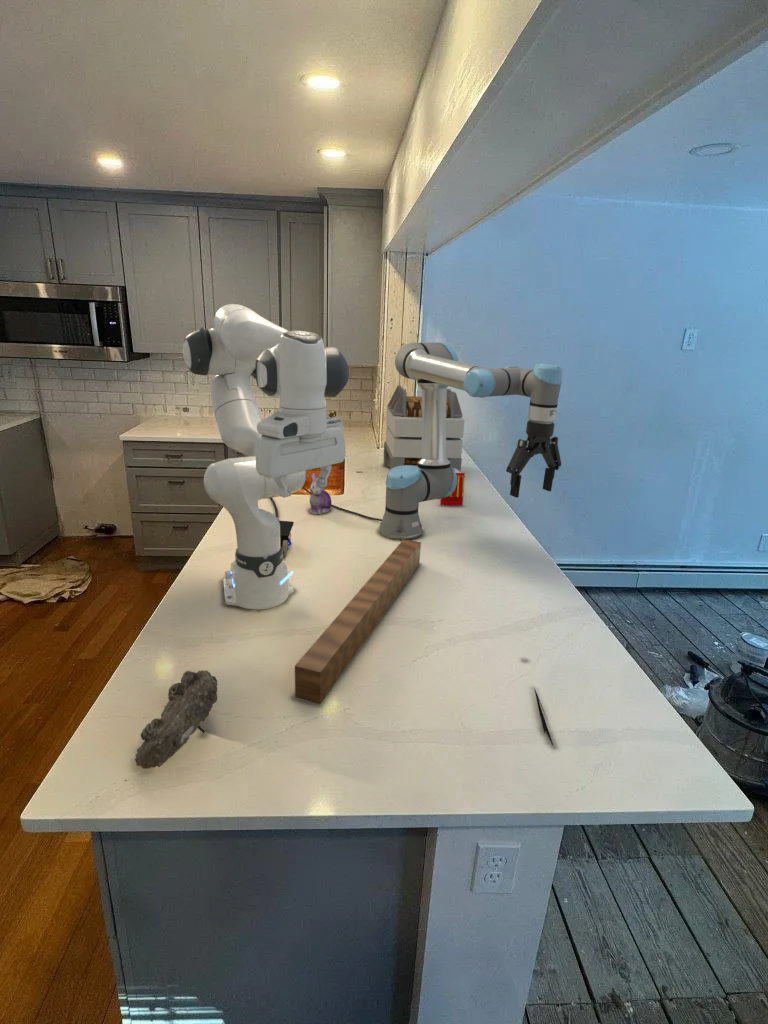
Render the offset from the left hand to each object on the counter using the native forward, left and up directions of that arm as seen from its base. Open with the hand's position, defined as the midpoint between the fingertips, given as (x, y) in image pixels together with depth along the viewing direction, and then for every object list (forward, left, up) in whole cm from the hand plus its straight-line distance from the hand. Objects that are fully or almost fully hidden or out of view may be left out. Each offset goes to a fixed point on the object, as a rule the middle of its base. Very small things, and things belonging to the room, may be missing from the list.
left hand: (303, 491), depth 112 cm
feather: (+32, +39, -40) cm, 64 cm away
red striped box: (-89, +99, -40) cm, 139 cm away
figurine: (-90, +41, -40) cm, 107 cm away
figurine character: (-62, +16, -40) cm, 75 cm away
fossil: (+10, -27, -40) cm, 50 cm away
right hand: (-17, +77, -15) cm, 80 cm away
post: (-12, +23, -40) cm, 48 cm away
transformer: (-123, +106, -40) cm, 167 cm away
